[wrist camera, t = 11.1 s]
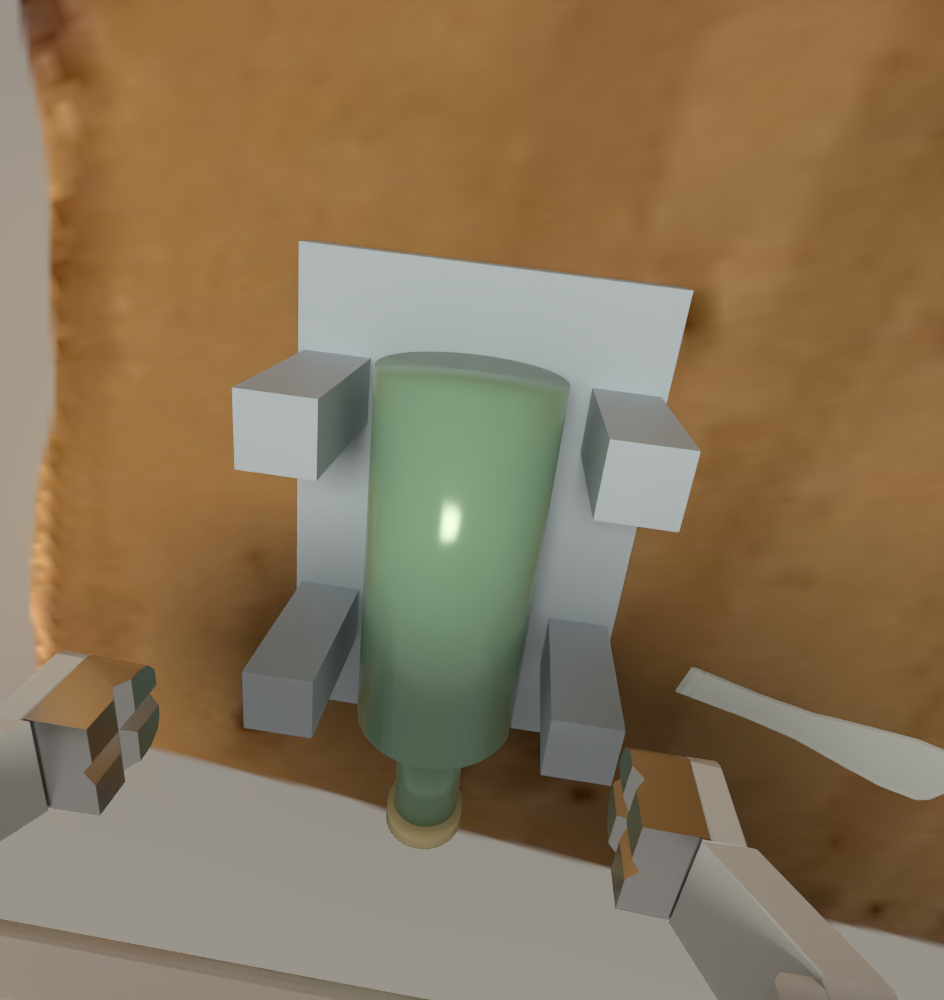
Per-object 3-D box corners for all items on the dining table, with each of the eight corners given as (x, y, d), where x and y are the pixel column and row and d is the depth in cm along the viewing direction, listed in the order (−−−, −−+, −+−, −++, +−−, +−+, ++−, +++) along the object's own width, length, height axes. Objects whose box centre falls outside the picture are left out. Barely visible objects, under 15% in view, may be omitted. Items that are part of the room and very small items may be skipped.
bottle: (401, 343, 19) (348, 379, 14) (570, 367, 19) (570, 411, 14) (374, 750, 25) (331, 865, 21) (500, 774, 25) (485, 897, 20)
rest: (310, 240, 19) (217, 245, 13) (685, 287, 19) (748, 312, 13) (305, 677, 25) (240, 802, 20) (584, 720, 25) (597, 861, 19)
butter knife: (929, 815, 25) (980, 762, 24) (347, 589, 23) (372, 521, 22) (923, 806, 25) (973, 753, 24) (350, 583, 24) (375, 517, 23)
